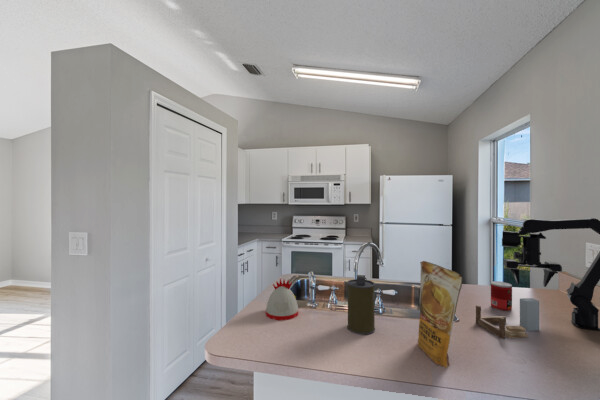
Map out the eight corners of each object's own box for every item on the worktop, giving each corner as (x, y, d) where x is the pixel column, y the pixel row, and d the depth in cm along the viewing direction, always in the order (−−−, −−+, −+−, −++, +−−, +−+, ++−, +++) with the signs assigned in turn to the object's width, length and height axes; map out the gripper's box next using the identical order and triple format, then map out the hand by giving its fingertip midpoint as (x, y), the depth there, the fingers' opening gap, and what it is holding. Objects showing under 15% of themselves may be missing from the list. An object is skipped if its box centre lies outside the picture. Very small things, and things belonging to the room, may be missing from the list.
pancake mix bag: (429, 339, 101) (429, 259, 101) (464, 371, 82) (464, 273, 82) (410, 340, 101) (411, 259, 101) (442, 372, 82) (442, 273, 82)
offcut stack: (519, 333, 106) (519, 324, 106) (528, 337, 103) (528, 329, 103) (502, 333, 105) (502, 325, 105) (510, 338, 102) (510, 330, 102)
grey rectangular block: (531, 326, 112) (531, 298, 112) (539, 330, 109) (539, 301, 109) (519, 327, 111) (519, 298, 111) (527, 330, 108) (527, 301, 108)
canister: (375, 336, 104) (376, 280, 104) (346, 333, 106) (346, 278, 106) (374, 323, 114) (374, 273, 114) (347, 321, 116) (347, 271, 116)
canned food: (511, 312, 126) (511, 287, 126) (490, 308, 131) (490, 283, 131) (512, 307, 132) (512, 283, 132) (491, 303, 137) (491, 280, 137)
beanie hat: (297, 320, 117) (297, 283, 117) (263, 320, 117) (263, 283, 117) (298, 307, 131) (298, 274, 131) (268, 307, 131) (268, 274, 131)
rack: (503, 321, 116) (503, 304, 116) (532, 337, 103) (532, 317, 103) (475, 323, 115) (475, 305, 115) (501, 338, 102) (501, 318, 102)
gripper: (550, 247, 126) (550, 282, 126) (499, 244, 133) (499, 278, 133) (562, 251, 115) (562, 290, 115) (507, 248, 122) (507, 285, 122)
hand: (531, 285), depth 122 cm, fingers open, 9 cm apart
